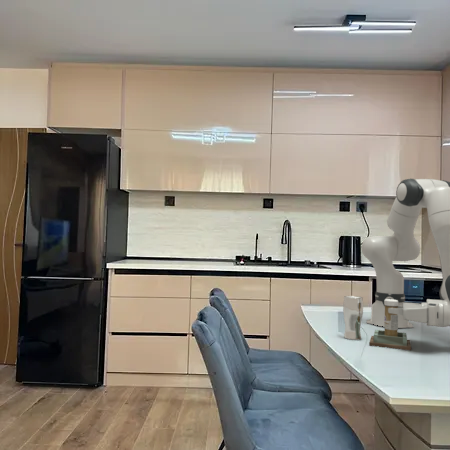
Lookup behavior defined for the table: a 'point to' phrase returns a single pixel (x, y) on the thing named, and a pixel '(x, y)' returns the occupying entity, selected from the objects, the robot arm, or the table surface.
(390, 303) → the sprinkles bottle
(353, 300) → the beer glass
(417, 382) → the table surface
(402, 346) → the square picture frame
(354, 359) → the table surface
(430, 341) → the table surface
